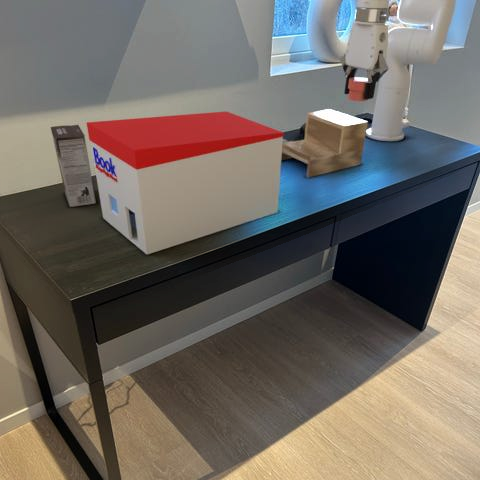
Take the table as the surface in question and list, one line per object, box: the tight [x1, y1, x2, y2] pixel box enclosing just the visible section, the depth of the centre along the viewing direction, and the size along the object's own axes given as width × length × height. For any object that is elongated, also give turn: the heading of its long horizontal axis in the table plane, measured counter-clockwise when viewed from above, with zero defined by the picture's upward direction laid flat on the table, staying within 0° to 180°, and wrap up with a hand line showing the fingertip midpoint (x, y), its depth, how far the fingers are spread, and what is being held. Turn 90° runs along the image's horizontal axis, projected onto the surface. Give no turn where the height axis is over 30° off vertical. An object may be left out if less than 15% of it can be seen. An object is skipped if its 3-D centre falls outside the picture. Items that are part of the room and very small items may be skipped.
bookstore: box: [86, 111, 284, 255], centre depth 105 cm, size 21×35×21 cm, turn 127°
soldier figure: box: [276, 128, 294, 144], centre depth 150 cm, size 8×5×12 cm
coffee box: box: [50, 124, 97, 208], centre depth 113 cm, size 9×6×16 cm
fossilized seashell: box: [299, 122, 306, 136], centre depth 160 cm, size 8×7×10 cm
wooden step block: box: [281, 108, 369, 178], centre depth 138 cm, size 20×16×12 cm
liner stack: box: [347, 76, 369, 102], centre depth 127 cm, size 6×6×5 cm
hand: (358, 95), depth 128 cm, fingers closed on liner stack, 6 cm apart
